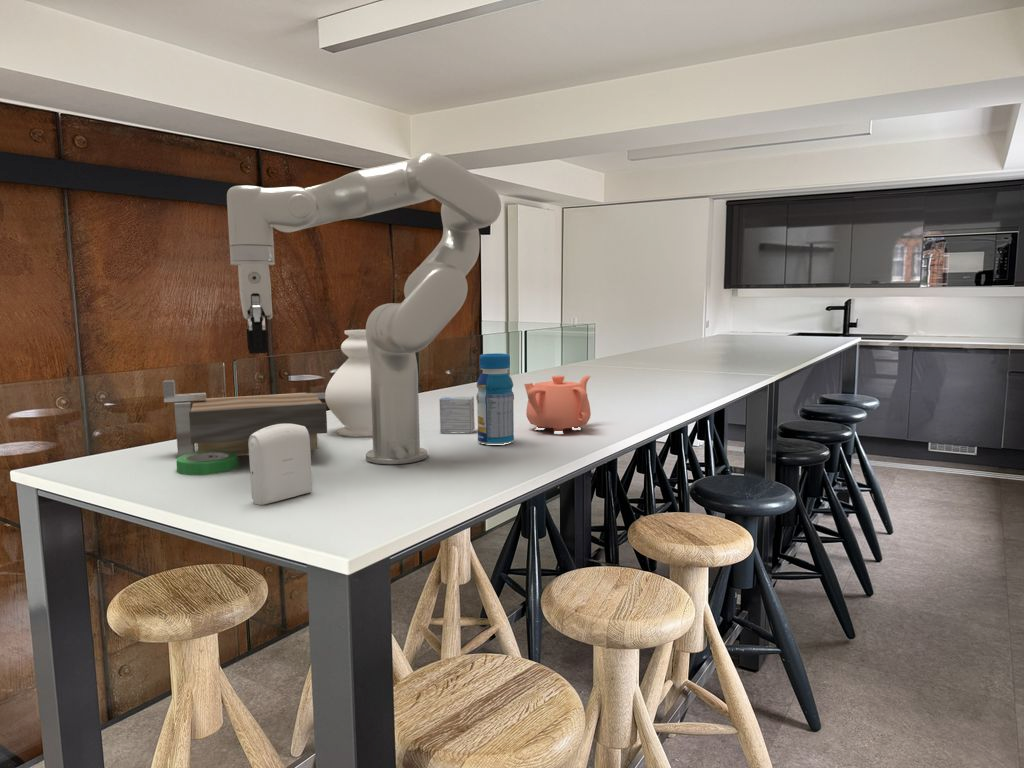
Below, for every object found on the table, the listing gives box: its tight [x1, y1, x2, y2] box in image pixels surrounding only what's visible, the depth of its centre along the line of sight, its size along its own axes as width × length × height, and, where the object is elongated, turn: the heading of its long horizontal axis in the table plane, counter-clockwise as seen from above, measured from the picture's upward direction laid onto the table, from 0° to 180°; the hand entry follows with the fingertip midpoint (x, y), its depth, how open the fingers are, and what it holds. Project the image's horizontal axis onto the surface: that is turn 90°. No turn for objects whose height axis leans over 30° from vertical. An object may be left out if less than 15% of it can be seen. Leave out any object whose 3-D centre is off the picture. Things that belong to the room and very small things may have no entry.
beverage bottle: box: [475, 352, 515, 444], centre depth 161 cm, size 8×8×20 cm
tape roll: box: [176, 451, 239, 476], centre depth 141 cm, size 11×11×3 cm
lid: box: [189, 392, 328, 445], centre depth 149 cm, size 23×25×6 cm
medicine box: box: [439, 395, 476, 432], centre depth 175 cm, size 8×4×9 cm, turn 84°
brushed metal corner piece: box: [162, 379, 207, 403], centre depth 152 cm, size 3×8×4 cm, turn 112°
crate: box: [174, 392, 319, 458], centre depth 161 cm, size 20×28×11 cm
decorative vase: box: [324, 329, 373, 438], centre depth 175 cm, size 18×18×25 cm
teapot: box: [524, 375, 591, 431], centre depth 176 cm, size 16×17×14 cm
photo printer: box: [248, 424, 313, 506], centre depth 119 cm, size 10×4×12 cm, turn 140°
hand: (257, 351), depth 132 cm, fingers open, 9 cm apart
